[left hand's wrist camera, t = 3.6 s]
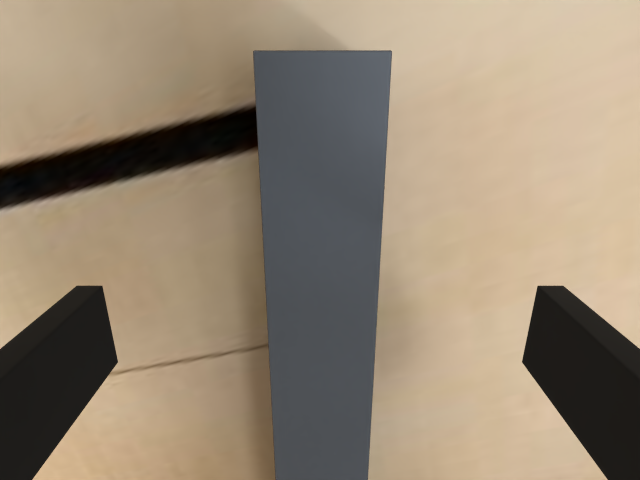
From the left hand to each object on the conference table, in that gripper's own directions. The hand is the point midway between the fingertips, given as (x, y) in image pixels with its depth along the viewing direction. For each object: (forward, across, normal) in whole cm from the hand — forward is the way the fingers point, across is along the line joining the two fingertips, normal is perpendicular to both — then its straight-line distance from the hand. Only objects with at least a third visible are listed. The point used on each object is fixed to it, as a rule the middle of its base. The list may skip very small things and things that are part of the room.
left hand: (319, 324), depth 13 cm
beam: (+14, 0, -23) cm, 27 cm away
